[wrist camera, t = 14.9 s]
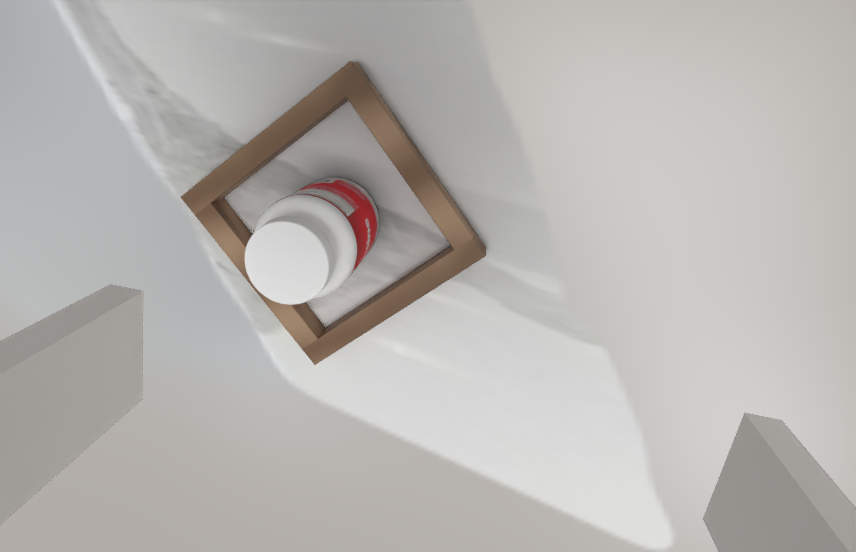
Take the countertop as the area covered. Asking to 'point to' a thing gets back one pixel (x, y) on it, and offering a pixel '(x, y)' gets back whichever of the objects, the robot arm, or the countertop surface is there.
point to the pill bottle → (311, 241)
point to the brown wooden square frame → (406, 159)
